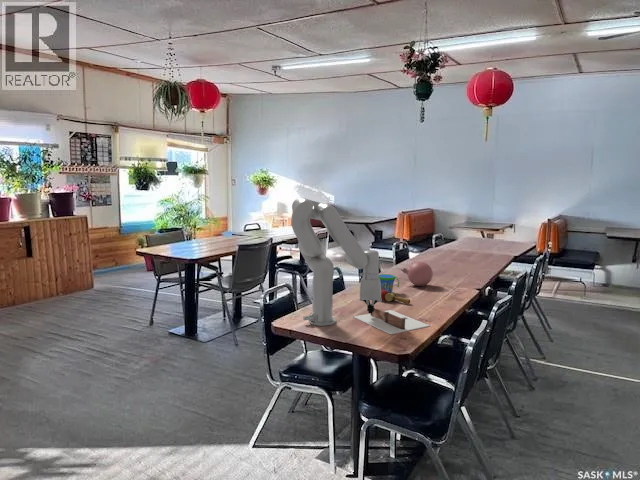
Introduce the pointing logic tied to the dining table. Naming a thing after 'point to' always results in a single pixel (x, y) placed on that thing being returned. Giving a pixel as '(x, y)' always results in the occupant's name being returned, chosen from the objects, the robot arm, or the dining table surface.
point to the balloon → (419, 273)
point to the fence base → (394, 320)
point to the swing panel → (379, 313)
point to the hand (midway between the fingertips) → (370, 312)
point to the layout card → (389, 328)
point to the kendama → (393, 297)
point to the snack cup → (387, 282)
